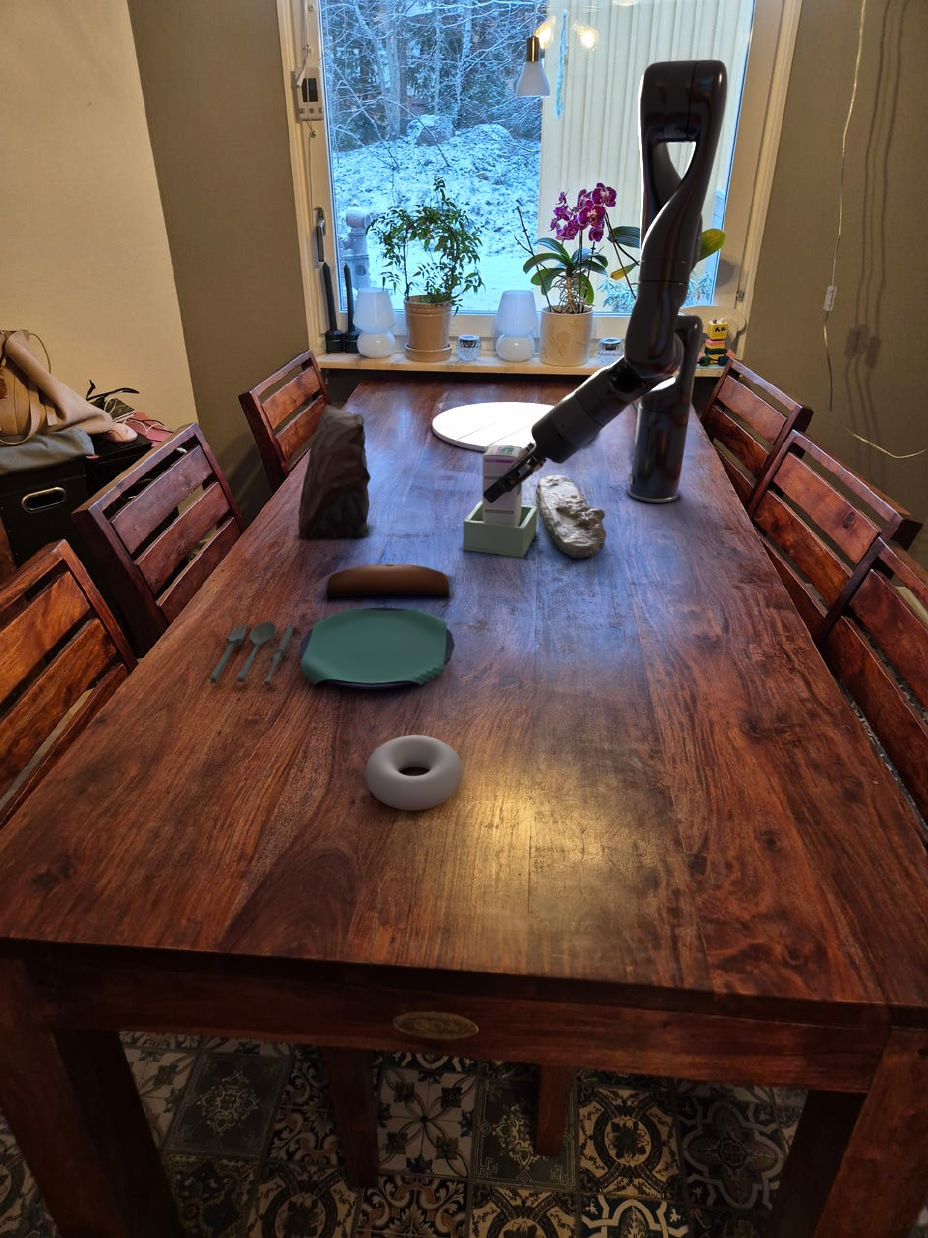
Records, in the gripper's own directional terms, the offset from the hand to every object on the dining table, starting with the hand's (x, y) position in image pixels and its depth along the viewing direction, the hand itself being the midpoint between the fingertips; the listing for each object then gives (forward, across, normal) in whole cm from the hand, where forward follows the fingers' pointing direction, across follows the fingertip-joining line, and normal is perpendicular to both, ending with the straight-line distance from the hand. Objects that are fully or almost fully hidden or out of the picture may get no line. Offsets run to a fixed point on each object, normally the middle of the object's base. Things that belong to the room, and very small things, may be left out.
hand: (492, 491), depth 134 cm
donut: (0, +62, +13) cm, 63 cm away
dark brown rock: (+26, +3, -14) cm, 30 cm away
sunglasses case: (+13, +22, -1) cm, 26 cm away
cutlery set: (+13, +42, 0) cm, 44 cm away
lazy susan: (+15, -66, -2) cm, 67 cm away
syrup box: (+4, 0, +6) cm, 8 cm away
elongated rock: (-1, -12, +14) cm, 19 cm away
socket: (+5, 0, +7) cm, 9 cm away
